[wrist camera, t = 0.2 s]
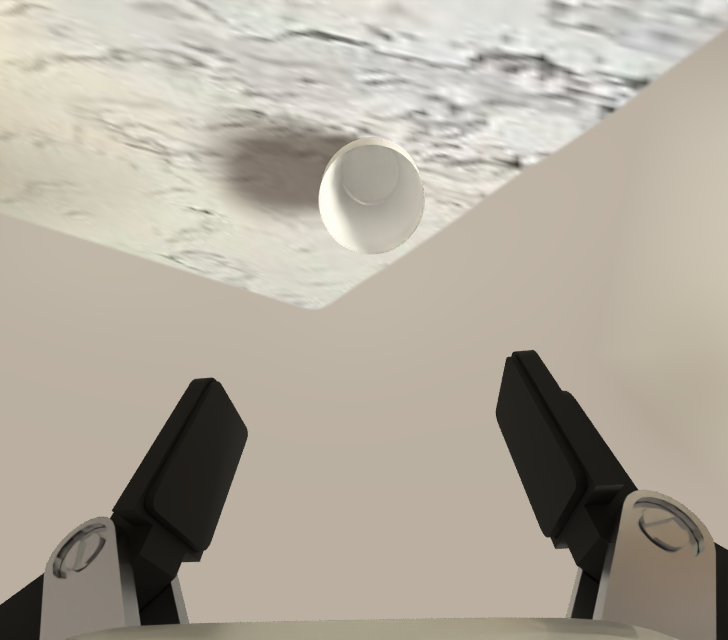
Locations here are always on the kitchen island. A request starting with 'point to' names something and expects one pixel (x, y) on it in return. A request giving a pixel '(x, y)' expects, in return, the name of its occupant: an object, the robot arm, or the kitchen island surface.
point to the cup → (371, 196)
